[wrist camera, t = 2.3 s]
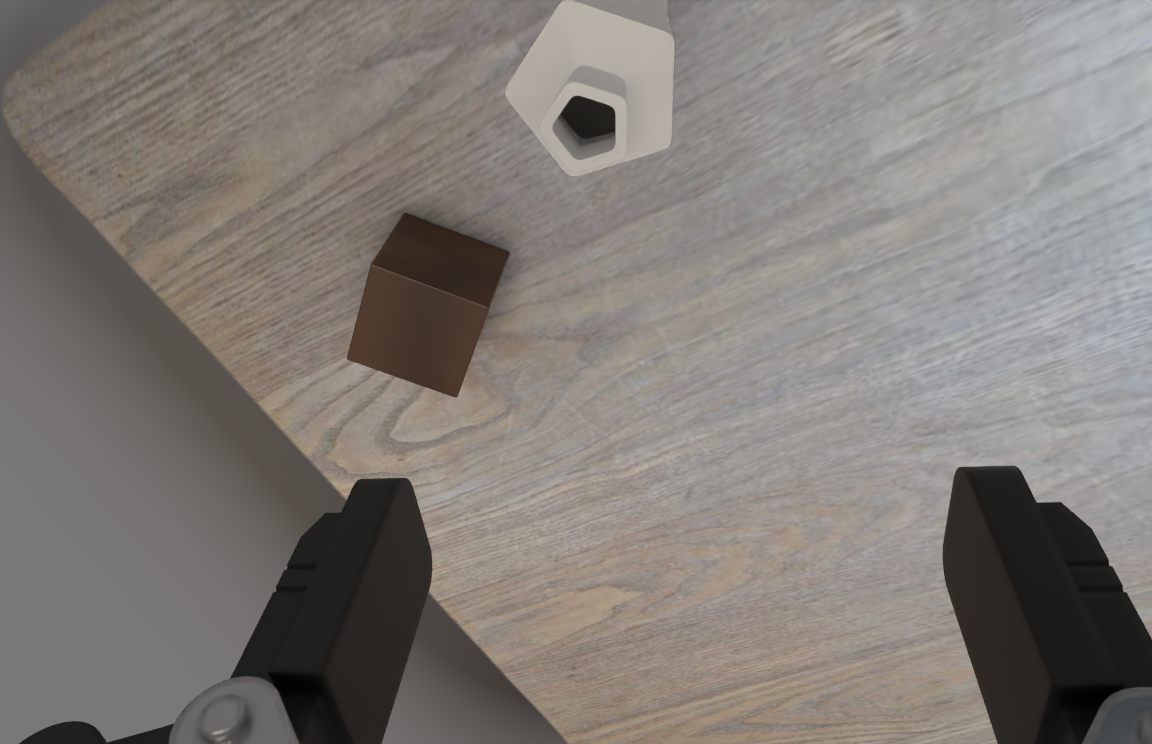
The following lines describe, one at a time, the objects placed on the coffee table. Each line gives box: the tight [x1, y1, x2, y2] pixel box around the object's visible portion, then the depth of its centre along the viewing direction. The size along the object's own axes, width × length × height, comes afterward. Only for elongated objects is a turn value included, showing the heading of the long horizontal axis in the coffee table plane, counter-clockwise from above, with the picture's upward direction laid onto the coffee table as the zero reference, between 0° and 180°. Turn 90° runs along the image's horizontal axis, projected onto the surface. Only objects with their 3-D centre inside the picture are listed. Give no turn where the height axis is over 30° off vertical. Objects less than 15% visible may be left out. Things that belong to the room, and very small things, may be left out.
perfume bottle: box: [505, 0, 674, 177], centre depth 27 cm, size 5×4×15 cm
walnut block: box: [347, 213, 509, 398], centre depth 38 cm, size 5×5×5 cm
